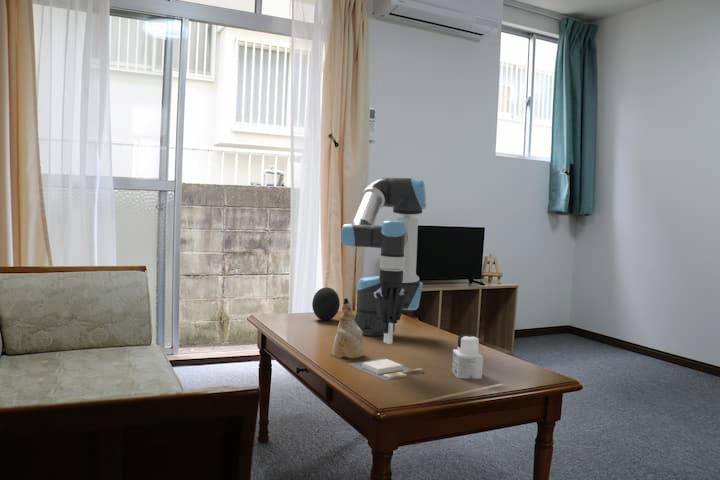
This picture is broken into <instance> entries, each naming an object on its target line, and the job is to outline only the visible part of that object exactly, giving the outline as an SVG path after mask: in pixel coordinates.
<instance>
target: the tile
mask: <svg viewBox="0 0 720 480" xmlns="http://www.w3.org/2000/svg"><path fill="white" fill-rule="evenodd" d="M403 366H404V365H403V364H402V363H401V364H400V363H398V362H396V361H394V360H391V359H388V358H384V360H377V361H371V362H364V363H362V368H364V369H367V370H369V371H371V372H373V373H376V374H383V373H388V372H394V371H400V370H403Z"/></svg>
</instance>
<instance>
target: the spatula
mask: <svg viewBox="0 0 720 480" xmlns="http://www.w3.org/2000/svg"><path fill="white" fill-rule="evenodd" d="M410 369H411V370H405V371H401V372H396V373H390V374H384V375H383V377H385V378H387V379H393V380H395V379H394V378H398V379H400V378H399V377H404V378H406V377H405V376H407V375H410V374H416V373H424V370H425V369H424V368H422V367H417V368H413V369H412V368H410Z"/></svg>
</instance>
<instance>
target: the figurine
mask: <svg viewBox="0 0 720 480" xmlns="http://www.w3.org/2000/svg"><path fill="white" fill-rule="evenodd" d="M341 310H342V313H343V314H341V315H340V316H339V323H338V325H337V329H336V330H337V331H336V335H335V337H334V338H333V345H332V353H331V355H330V356H331V357H336V358H339V359H353V358H362V357H365V354H364V350H363V349H364V347H363V342H364V335H363V333H362V331H361V329H360V328H359V327H358V325H357V324H356V322H355V316H356V314H354V313H353V312H352V311H353V306H352V304H351V303H350V301H349V298H346V297H345V298H344V299H343V304H342V305H341Z"/></svg>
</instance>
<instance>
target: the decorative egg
mask: <svg viewBox="0 0 720 480" xmlns="http://www.w3.org/2000/svg"><path fill="white" fill-rule="evenodd" d="M311 302H312V303H311V305H312V311H313V313H314V315H315V316H316V317H317V319H320V320H322V321H325V322H326V321H330V320H333V318H335V316H337V314H338V312H339V310H340V304H341V303H340V302H341V301H340V297H339V295H338V293H337V292H336V290H334V289H333V288H331V287H321V288H320V289H318V290H317V292H316V293H315V294H314V296H313V299H312V301H311Z"/></svg>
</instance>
